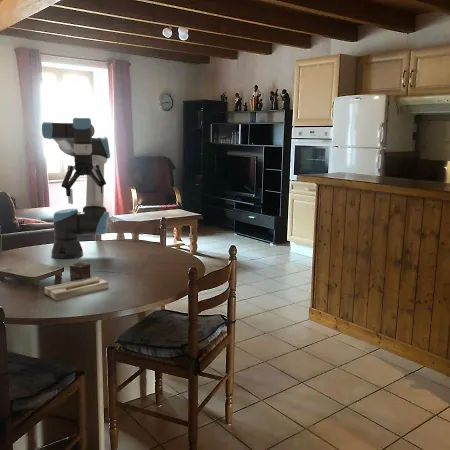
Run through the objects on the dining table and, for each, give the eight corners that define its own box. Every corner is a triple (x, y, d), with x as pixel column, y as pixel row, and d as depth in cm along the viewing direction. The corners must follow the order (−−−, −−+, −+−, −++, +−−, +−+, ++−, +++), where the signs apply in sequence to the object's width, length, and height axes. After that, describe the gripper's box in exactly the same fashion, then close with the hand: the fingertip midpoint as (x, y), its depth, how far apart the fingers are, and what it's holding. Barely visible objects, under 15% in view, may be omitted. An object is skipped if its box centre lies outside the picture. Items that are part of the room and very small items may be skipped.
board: (44, 293, 185) (44, 285, 185) (95, 281, 200) (95, 274, 200) (56, 300, 178) (55, 291, 178) (108, 287, 193) (108, 280, 193)
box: (91, 280, 202) (90, 263, 201) (81, 284, 197) (81, 267, 196) (79, 278, 205) (79, 261, 203) (70, 282, 199) (69, 265, 198)
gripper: (59, 155, 195) (62, 206, 200) (113, 153, 212) (114, 200, 217) (51, 154, 200) (54, 203, 205) (104, 152, 218) (105, 198, 222)
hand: (85, 202), depth 211 cm, fingers open, 13 cm apart
